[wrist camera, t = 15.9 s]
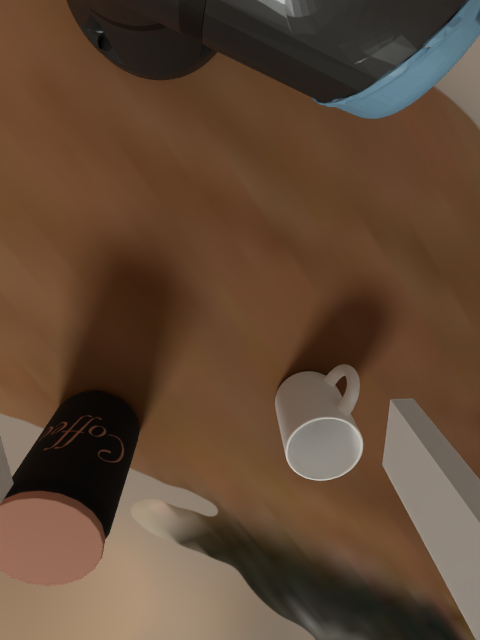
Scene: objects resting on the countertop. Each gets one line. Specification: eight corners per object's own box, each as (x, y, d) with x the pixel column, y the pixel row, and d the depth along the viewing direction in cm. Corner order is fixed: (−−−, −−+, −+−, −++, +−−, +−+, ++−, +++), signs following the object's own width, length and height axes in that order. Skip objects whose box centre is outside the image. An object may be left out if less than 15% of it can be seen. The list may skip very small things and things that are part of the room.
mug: (315, 334, 49) (338, 375, 40) (368, 365, 51) (402, 412, 42) (261, 406, 53) (270, 461, 43) (313, 433, 55) (332, 491, 45)
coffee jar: (152, 402, 52) (118, 517, 35) (127, 465, 55) (85, 597, 38) (68, 375, 50) (-9, 483, 33) (48, 442, 53) (-32, 570, 37)
